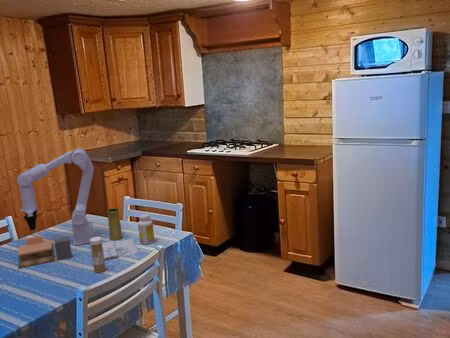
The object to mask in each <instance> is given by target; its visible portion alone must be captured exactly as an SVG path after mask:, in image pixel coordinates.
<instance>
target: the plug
mask: <svg viewBox="0 0 450 338" xmlns="http://www.w3.org/2000/svg"><path fill="white" fill-rule="evenodd" d="M53 242H54V248H55V254H56V259H57V260H56V261H57V262H59V261H62V260H63V261H64V260H67V259H72V258H73V255H72V248H71V240H70V237H64V238H59V239H58V238H57V239H54V240H53Z"/></svg>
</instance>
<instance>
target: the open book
mask: <svg viewBox="0 0 450 338" xmlns="http://www.w3.org/2000/svg"><path fill="white" fill-rule="evenodd" d="M89 245H90V247H91V244H89ZM102 247H103V254H104V261H106V260H111V259H119V258H121V257H128V256H132V255H137V254H140V251H139V250H138V246H137V244H136V239H134V238H129V239H126V240H125V239H123V240H117V241H112V240H110V241H107V242H102ZM90 249H91V248H90ZM90 251H91V252H90V253H91V254H92V249H91V250H90Z"/></svg>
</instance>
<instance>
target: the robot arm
mask: <svg viewBox="0 0 450 338" xmlns="http://www.w3.org/2000/svg"><path fill="white" fill-rule="evenodd" d="M92 162H93V161H92V160H91V158H90V155H89V154H88V153H87V152H86V150H84V149H83V148H81V147H80V148H79V147H78V148H76V149H73V150H70V151H68V152H66V153H63V154H62V155H60V156H59V157H56V158H55V159H53V160H51V161H49V162H48V163H45V164H43V163H40V164H39V163H36V164H35V166H33V167H32V168H30V169H26V170H24V172H21V173H20V174H19V175H18V176H17V178H16V179H17V180H16V182H17V185H18V188H19V194H20V199H21V200H20V201H21V206H22V208H21V209H20V210H19V211H20V213H22V212H23V213H24V214H25V215H23V219H24V220H25V222H26V223H27V225H28V228H29V230H30V231H35V230H36V228H37V218H38V214H37V212H38V206H37V201H36V194H35V190H34V185H33V183H34V182H37V181H38V180H41V179H42V178H44V177H46V176H48V175H49V172H50V171H51V170H53V169H55V168H58V167H60V166H61V165H64V164H72V163H73V164H74V165H76V166H77V167H79V168H80V170H81V171H82V176H81V180H80V185H79V189H78V195H77V200H76V204H75V208H74V209H73V211H72V213H71V227H72V234H73V236H72V237H73V239H72V242H73V246H79V245H83V244H88V243H89V244H90V239H91V238H94V237H96V234H95V231H94V228H95V227H94V223H93V221H89V220H87V217H86V216H87V212H86V211H87V210H86V209H87V205H88V199H89V195H90V189H91V186H92V185H91V184H92V180H93V175H94V170H95V166H94V164H93V163H92Z"/></svg>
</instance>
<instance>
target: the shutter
mask: <svg viewBox="0 0 450 338" xmlns="http://www.w3.org/2000/svg"><path fill="white" fill-rule="evenodd" d="M26 241H27V244H21V245H19V248H18V257H19V256H23V255H28V254H33V253H38V252H43V251H48V250H52V245H51V244H52V240H51V239H50V240H49V239H48V240H44V241H43V237H42V235H39V236H34V237H28V238H26Z"/></svg>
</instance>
